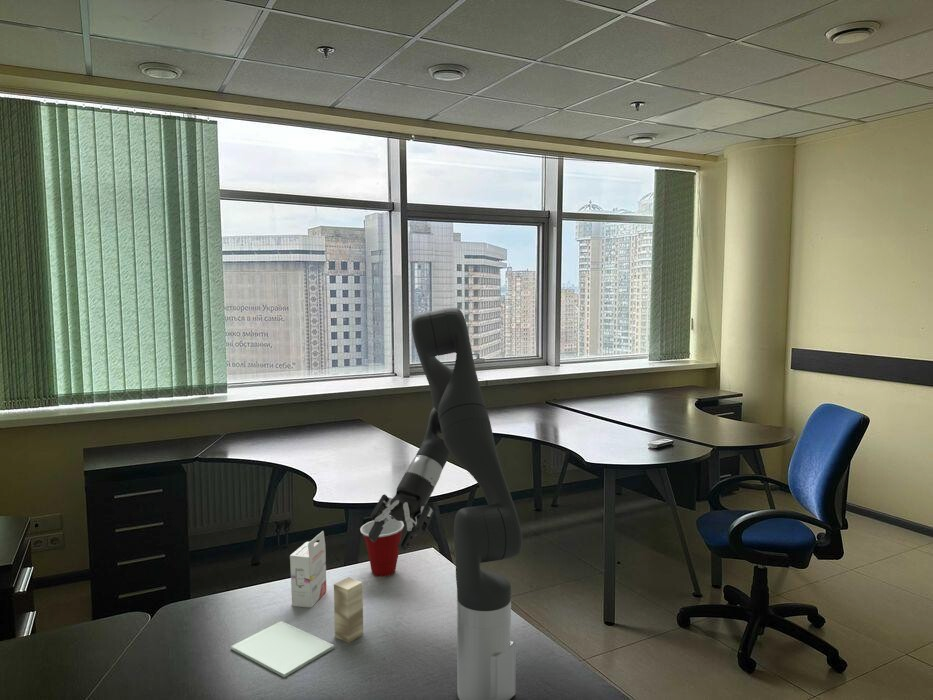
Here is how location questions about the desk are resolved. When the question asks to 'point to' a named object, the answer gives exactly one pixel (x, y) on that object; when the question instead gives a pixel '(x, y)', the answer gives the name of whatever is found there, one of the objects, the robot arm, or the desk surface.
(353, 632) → the birch block
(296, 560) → the ink cartridge box
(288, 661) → the sage mat
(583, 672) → the desk surface
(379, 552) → the plastic cup
